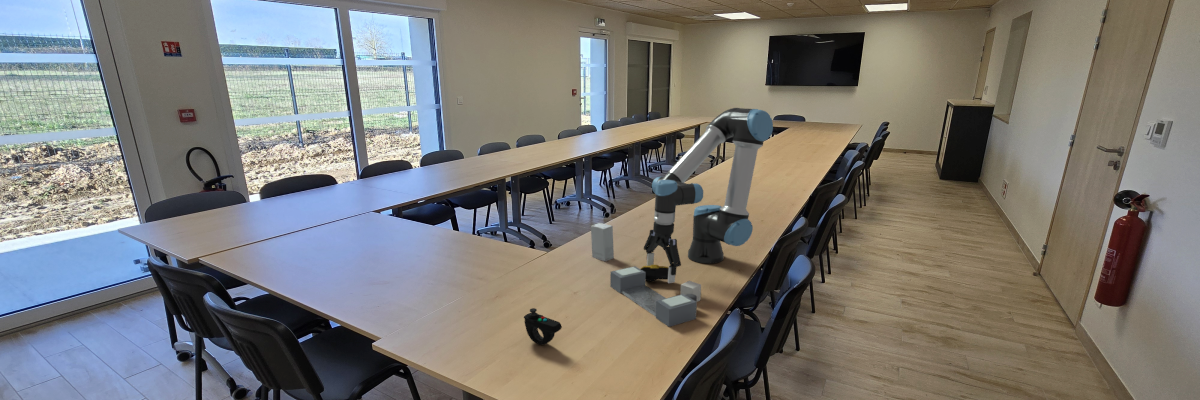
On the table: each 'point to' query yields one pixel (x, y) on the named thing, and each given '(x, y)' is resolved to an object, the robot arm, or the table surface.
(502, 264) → the table surface
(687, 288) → the block
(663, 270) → the gadget
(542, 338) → the controller
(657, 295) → the rail
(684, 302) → the block
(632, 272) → the block
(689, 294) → the dark grey pebble
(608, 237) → the skincare box
